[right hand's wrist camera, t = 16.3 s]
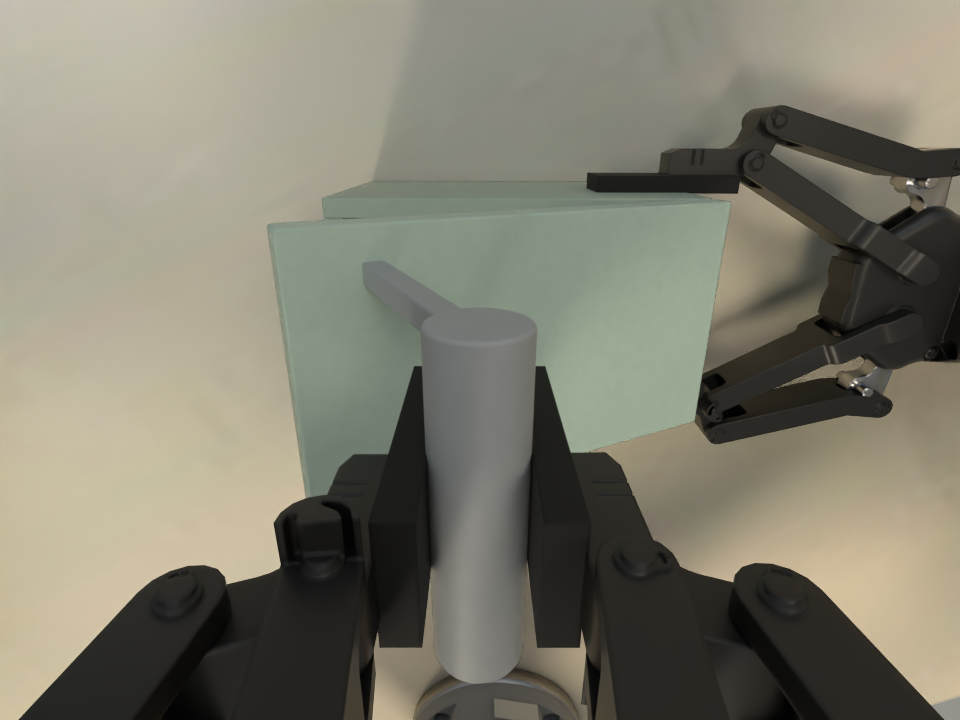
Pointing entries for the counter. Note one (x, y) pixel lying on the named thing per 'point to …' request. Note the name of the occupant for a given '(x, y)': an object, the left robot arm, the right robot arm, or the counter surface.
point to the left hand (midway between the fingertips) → (583, 288)
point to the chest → (472, 198)
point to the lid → (492, 366)
